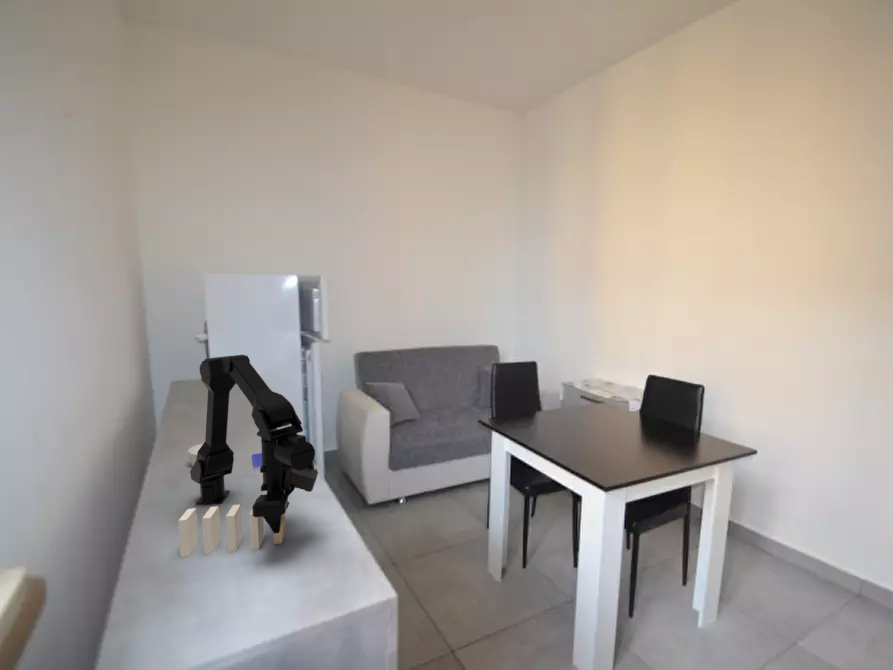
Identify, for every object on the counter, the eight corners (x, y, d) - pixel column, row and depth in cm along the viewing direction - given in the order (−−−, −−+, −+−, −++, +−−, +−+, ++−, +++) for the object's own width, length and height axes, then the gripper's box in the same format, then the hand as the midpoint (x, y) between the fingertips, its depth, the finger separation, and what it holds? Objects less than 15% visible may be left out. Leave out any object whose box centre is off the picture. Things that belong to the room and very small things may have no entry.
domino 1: (190, 543, 95) (188, 508, 95) (198, 542, 96) (195, 508, 95) (180, 557, 91) (178, 520, 90) (189, 556, 91) (186, 519, 90)
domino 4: (256, 537, 98) (255, 503, 97) (264, 536, 98) (262, 502, 97) (250, 549, 93) (249, 514, 92) (258, 549, 93) (257, 513, 93)
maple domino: (278, 531, 99) (277, 497, 98) (285, 530, 99) (284, 497, 98) (273, 543, 94) (272, 508, 93) (281, 543, 94) (280, 507, 93)
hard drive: (281, 462, 138) (277, 450, 149) (253, 467, 134) (251, 454, 145) (282, 467, 138) (277, 454, 149) (254, 472, 135) (251, 458, 146)
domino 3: (234, 539, 97) (233, 505, 96) (242, 538, 97) (240, 504, 97) (227, 552, 92) (225, 516, 91) (236, 551, 92) (234, 515, 92)
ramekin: (211, 471, 134) (210, 455, 134) (180, 468, 136) (179, 452, 136) (235, 458, 145) (234, 442, 145) (206, 455, 147) (205, 440, 147)
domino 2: (212, 541, 96) (210, 506, 95) (220, 540, 97) (218, 506, 96) (204, 554, 91) (202, 518, 91) (212, 553, 92) (210, 517, 91)
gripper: (309, 473, 87) (311, 546, 88) (319, 441, 105) (321, 503, 107) (250, 477, 85) (253, 552, 86) (270, 444, 103) (273, 507, 105)
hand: (279, 526), depth 96 cm, fingers closed on maple domino, 5 cm apart
